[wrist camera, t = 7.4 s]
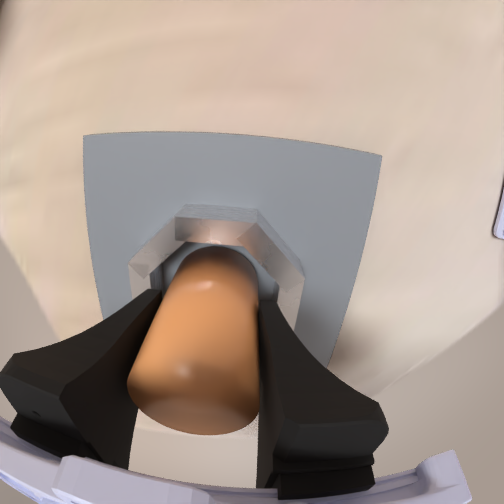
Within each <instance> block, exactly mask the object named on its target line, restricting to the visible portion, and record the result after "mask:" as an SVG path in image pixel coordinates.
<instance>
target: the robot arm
mask: <svg viewBox="0 0 504 504" xmlns="http://www.w3.org/2000/svg"><path fill="white" fill-rule="evenodd" d="M503 230H504V189H503V194H502V199H501V203H500V207H499V211H498V215H497V219H496V223H495V226H494V235H495V236H496V237H498V238H501V239H504V231H503ZM162 300H163V298H162V290H157V289H149V288H148V289H147V290H145V291H144V292H142V293H141V294H140V295H138V296H137V297H136V298H134V299H133V300H132V301H130V302H129V303H128V304H126V305H125V306H124V307H122V308H121V309H119V310H118V311H117V312H115V313H114V314H112V315H111V316H109V317H108V318H106V319H105V320H103V321H101V322H100V323H98V324H97V325H95V326H93V327H91V328H89V329H87V330H86V331H84V332H82V333H80V334H77V335H75V336H73V337H70V338H68V339H66V340H63V341H61V342H58V343H55V344H52V345H49V346H46V347H42V348H39V349H35V350H30V351H25V352H20V353H15V354H13V356H12V357H11V358H10V360H9V361H8V362H7V364H6V365H5V366H4V368H3V369H2V371H1V372H0V388H1V390H2V391H3V393H4V395H5V396H6V398H7V399H8V401H9V402H10V403H11V405H12V406H13V408H14V409H15V410H16V412H17V415H16V417H15V419H14V421H13V422H12V423H11V422H9V421H8V420H6V419H4V418H2V417H1V416H0V479H1V480H3V481H4V482H6V483H7V484H8V485H10V486H12V487H13V488H14V489H16V490H18V491H19V492H21V493H23V494H24V495H26V496H27V497H29V498H31V499H32V500H34V501H36V502H37V503H39V504H466V503H468V502H470V501H471V500H472V496H471V494H470V490H469V488H468V485H467V482H466V479H465V477H464V474H463V471H462V469H461V466H460V464H459V461H458V459H457V456H456V454H455V451H454V450H452V449H451V450H448V451H446V452H443V453H440V454H437V455H434V456H431V457H429V458H427V459H425V460H424V461H422V462H421V463H420V464H419V465H418V466H417V467H416V468H415V469H411V470H407V471H403V472H400V473H396V474H392V475H387V476H383V477H378V478H374V475H373V471H372V467H371V465H373V464H374V458H373V452H374V451H375V450H376V449H377V448H378V446H379V445H380V444H381V443H382V442H383V441H384V439H385V437H386V436H387V434H388V431H389V428H388V424H387V422H386V418H385V416H384V414H383V412H382V409H381V407H380V405H379V403H378V402H376V401H374V400H372V399H371V398H369V397H367V396H365V395H363V394H361V393H360V392H358V391H356V390H355V389H353V388H352V387H350V386H349V385H347V384H346V383H344V382H343V381H341V380H340V379H339V378H337V377H336V376H335V375H334V374H332V373H331V372H330V371H329V370H328V369H326V368H325V367H324V366H323V365H322V364H321V363H320V362H319V361H318V360H317V359H316V358H315V357H314V356H313V355H312V354H311V353H310V352H309V351H308V349H307V348H306V347H305V346H304V345H303V343H302V342H301V341H300V339H299V338H298V337H297V335H296V334H295V332H294V331H293V330H292V328H291V327H290V325H289V324H288V322H287V320H286V319H285V317H284V315H283V314H282V312H281V310H280V308H279V306H278V304H277V303H276V301H272V300H260V303H259V311H258V325H259V387H260V407H259V422H258V456H257V479H256V488H233V487H221V486H211V485H201V484H194V483H188V482H187V483H186V482H181V481H175V480H170V479H164V478H159V477H155V476H150V475H145V474H141V473H137V472H133V471H129V470H128V467H129V458H130V450H131V444H132V438H133V432H134V427H135V422H136V417H137V413H138V409H139V408H138V407H137V406H136V405H135V403H134V402H133V400H132V399H131V397H130V395H129V392H128V389H127V380H128V376H129V374H130V371H131V369H132V367H133V364H134V362H135V360H136V357H137V355H138V353H139V350H140V348H141V346H142V344H143V341H144V339H145V337H146V335H147V332H148V330H149V328H150V326H151V324H152V321H153V319H154V317H155V315H156V313H157V311H158V308H159V306H160V304H161V302H162Z"/></svg>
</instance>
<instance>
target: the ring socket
mask: <svg viewBox="0 0 504 504" xmlns="http://www.w3.org/2000/svg"><path fill="white" fill-rule="evenodd" d="M184 242H197V243H209V244H221V245H233V246H244V247H245V248H246V249H247V250H248V252H249V253H250V254H251V255H252V256H253V257H254V258H255V259H256V260H257V261H258V262H259V264H260V265H261V266H262V267H263V268H264V269H265V270H266V271H267V272H268V273H269V274H270V276H271V277H272V278H273V279H274V287H273V293H272V301H276V303H277V304H278V306H279V308H280V310H281V312H282V314H283V315H284V317H285V319H286V320H287V322H288V324H289V325H290V327H291V328H292V330H293V331H294V328H295V323H296V319H297V314H298V309H299V305H300V300H301V295H302V290H303V285H304V280H305V277H304V274H303V270H302V267H301V264H300V261H299V258H298V257H297V256H296V255H295V253H294V252H293V251H292V250H291V249H290V248H289V246H288V245H287V244H286V243H285V242H284V240H283V239H282V238H281V237H280V236H279V234H278V233H277V232H276V231H275V230H274V229H273V227H272V226H271V225H270V224H269V223H268V222H267V220H266V219H265V218H264V217H263V216H262V215H261V213H260V212H259V211H258V210H257V209H253V208H242V207H230V206H217V205H203V204H189V203H186V204H185V205H184V206H183V207H182V208H181V209H180V210H179V211H178V212H177V213H176V214H175V215H173V216H172V217H171V218H170V219H169V220H168V221H167V222H166V223H165V224H164V225H163V226H162V227H161V228H160V229H159V230H158V231H157V232H155V233H154V234H153V235H152V236H151V237H150V238H149V239H148V240H147V241H146V242H145V243H144V244H143V245H142V246H141V247H140V248H139V249H138V251H137V252H136V253H135V254H134V255H133V257H132V258H131V259H130V260H129V261H128V269H129V278H130V286H131V293H132V300H133V299H134V298H136V297H137V296H138V295H140V294H141V293H142V292H144V291H145V290H147V289H148V288H149V289H157V290H162V298H164V296H165V294H164V280H163V263H162V262H163V261H164V260H165V259H166V258H167V257H169V256H170V255H171V254H172V253H173V252H174V251H175V250H177V249H178V248H179V247H180V246H181V245H182V244H183V243H184Z"/></svg>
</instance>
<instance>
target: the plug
mask: <svg viewBox="0 0 504 504" xmlns="http://www.w3.org/2000/svg"><path fill="white" fill-rule="evenodd" d="M127 389H128V392H129V395H130V397H131V399H132V400H133V402H134V403H135V405H136V406H137V407H138V408H139V409H140V410H141V411H142V412H143V413H145V414H146V415H147V416H148V417H150V418H151V419H153V420H155V421H156V422H158V423H160V424H162V425H164V426H166V427H169V428H172V429H174V430H178V431H181V432H185V433H190V434H197V435H220V434H227V433H231V432H234V431H237V430H240V429H242V428H244V427H246V426H247V425H249V424H250V423H251V422H252V421H253V420H254V419H255V418H256V416H257V415H258V412H259V407H260V387H259V325H258V279H257V275H256V272H255V270H254V268H253V267H252V265H251V264H250V262H249V261H248V260H247V259H246V258H245V257H243V256H242V255H241V254H239V253H238V252H236V251H234V250H231V249H228V248H225V247H219V246H209V247H203V248H200V249H197V250H195V251H193V252H191V253H190V254H188V255H187V256H186V257H185V258H184V259H183V260H182V262H181V263H180V265H179V267H178V269H177V271H176V273H175V275H174V277H173V279H172V281H171V283H170V285H169V287H168V289H167V291H166V294H165V296H164V298H163V300H162V302H161V304H160V306H159V308H158V311H157V313H156V315H155V317H154V319H153V321H152V324H151V326H150V328H149V330H148V332H147V335H146V337H145V339H144V341H143V344H142V346H141V348H140V350H139V353H138V355H137V357H136V360H135V362H134V364H133V367H132V369H131V371H130V374H129V376H128V380H127Z"/></svg>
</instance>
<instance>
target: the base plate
mask: <svg viewBox="0 0 504 504" xmlns="http://www.w3.org/2000/svg"><path fill="white" fill-rule="evenodd" d="M381 161H382V156H381V155H377V154H374V153H369V152H364V151H359V150H354V149H349V148H343V147H338V146H332V145H326V144H320V143H313V142H306V141H299V140H291V139H283V138H274V137H264V136H254V135H242V134H228V133H209V132H122V133H104V134H92V135H85V136H83V168H84V191H85V205H86V217H87V227H88V235H89V243H90V251H91V258H92V264H93V270H94V276H95V282H96V287H97V292H98V297H99V302H100V306H101V311H102V315H103V320H105V319H106V318H108V317H109V316H111V315H112V314H114V313H115V312H117V311H118V310H119V309H121V308H122V307H124V306H125V305H126V304H128V303H129V302H130V301H132V293H131V286H130V278H129V269H128V261H129V260H130V259H131V258H132V257H133V255H134V254H135V253H136V252H137V251H138V249H139V248H140V247H141V246H142V245H143V244H144V243H145V242H146V241H147V240H148V239H149V238H150V237H151V236H152V235H153V234H154V233H155V232H157V231H158V230H159V229H160V228H161V227H162V226H163V225H164V224H165V223H166V222H167V221H168V220H169V219H170V218H171V217H172V216H173V215H175V214H176V213H177V212H178V211H179V210H180V209H181V208H182V207H183V206H184V205H185V204H186V203H189V204H203V205H217V206H230V207H242V208H253V209H257V210H258V211H259V212H260V213H261V215H262V216H263V217H264V218H265V219H266V220H267V222H268V223H269V224H270V225H271V226H272V227H273V229H274V230H275V231H276V232H277V233H278V234H279V236H280V237H281V238H282V239H283V240H284V242H285V243H286V244H287V245H288V246H289V248H290V249H291V250H292V251H293V252H294V253H295V255H296V256H297V257H298V258H299V261H300V264H301V267H302V270H303V274H304V277H305V280H304V285H303V290H302V295H301V300H300V305H299V309H298V314H297V319H296V323H295V328H294V332H295V334H296V335H297V337H298V338H299V339H300V341H301V342H302V343H303V345H304V346H305V347H306V348H307V349H308V351H309V352H310V353H311V354H312V355H313V356H314V357H315V358H316V359H317V360H318V361H319V362H320V363H321V364H322V365H323V366H324V367H325V368H326V369H327V366H328V363H329V361H330V358H331V355H332V352H333V349H334V347H335V344H336V341H337V338H338V335H339V332H340V329H341V326H342V323H343V320H344V316H345V313H346V310H347V307H348V304H349V300H350V297H351V293H352V290H353V287H354V283H355V279H356V276H357V272H358V268H359V265H360V261H361V257H362V253H363V249H364V245H365V241H366V237H367V232H368V228H369V223H370V219H371V214H372V210H373V205H374V200H375V195H376V189H377V184H378V178H379V173H380V167H381ZM209 246H219V247H225V248H228V249H231V250H234V251H236V252H238V253H239V254H241V255H242V256H243V257H245V258H246V259H247V260H248V261H249V262H250V264H251V265H252V267H253V268H254V270H255V272H256V275H257V279H258V311H259V303H260V300H272V293H273V287H274V279H273V278H272V277H271V276H270V274H269V273H268V272H267V271H266V270H265V269H264V268H263V267H262V266H261V265H260V264H259V262H258V261H257V260H256V259H255V258H254V257H253V256H252V255H251V254H250V253H249V252H248V250H247V249H246V248H245V247H244V246H233V245H221V244H209V243H197V242H184V243H183V244H182V245H181V246H180V247H179V248H178V249H177V250H175V251H174V252H173V253H172V254H171V255H170V256H169V257H167V258H166V259H165V260H164V261H163V262H162V263H163V280H164V294H166V291H167V289H168V287H169V285H170V283H171V281H172V279H173V277H174V275H175V273H176V271H177V269H178V267H179V265H180V263H181V262H182V260H183V259H184V258H185V257H186V256H187V255H188V254H190V253H191V252H193V251H195V250H197V249H200V248H203V247H209Z"/></svg>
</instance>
